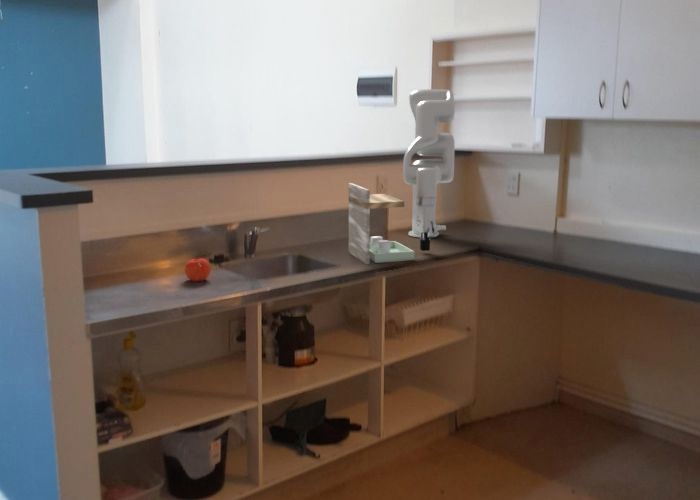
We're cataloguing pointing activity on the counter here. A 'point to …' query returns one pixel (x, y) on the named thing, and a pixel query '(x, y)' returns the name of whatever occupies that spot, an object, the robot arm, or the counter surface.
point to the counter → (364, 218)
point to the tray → (392, 254)
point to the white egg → (383, 246)
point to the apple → (197, 269)
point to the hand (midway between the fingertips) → (424, 250)
